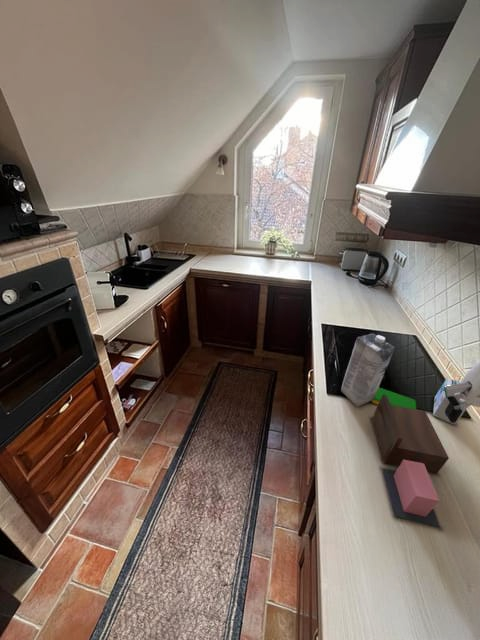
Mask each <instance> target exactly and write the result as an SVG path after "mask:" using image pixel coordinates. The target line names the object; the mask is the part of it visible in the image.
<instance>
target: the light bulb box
mask: <svg viewBox="0 0 480 640" xmlns="http://www.w3.org/2000/svg"><path fill="white" fill-rule="evenodd" d="M460 382H461V381H459V380H455V379H452V378H449V377H446V378H445V379H444V381H443V383H442V385H441V386H440V388H439V389H438V391H437V392H436V394H435V396H434V400H433V412H432V416H433V417H436V418H438V419H440V420H443V421H445V422H447V423H450V424H451V425H457V423H458V421H459V420H460V419H461V417H462V416H463V415H464V414H465V412H466V410H467V409H468V408H469V406H468V407H465V408H462V409H461V410H462V413H461V415H460V416H459V418H458V419H457V421H456V422H455V423H451V422H450V420H449V419H448V417H447V416H446V414H445V409H446V408H447V406H448V405H449V403H450V402H449V400H448V399H447V397H446V396H445V391H444V387H445V386H449V385H455V384H460ZM455 394H458V393H455ZM455 394H454V395H455ZM457 401H458V402H459V403H460V402H463V401H465V399H464V398H462V399H459V400H457Z"/></svg>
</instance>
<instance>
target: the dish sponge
mask: <svg viewBox="0 0 480 640" xmlns="http://www.w3.org/2000/svg"><path fill="white" fill-rule="evenodd" d="M383 394H384V395H387V397H388V400H389V403H390V405H394V406H400V407H405V408H411V409H417V401H416V399H413V398H412V397H411V398H410V397H408V396H405V395H402V394H399V393H397V392H393V391H391V390H387V389H385V388H382V387H380V386H379V387H378V390H377V392H376V394H375V396H374V398H373V399H372V400H371V401H370V402H371V403H372V404H375V405H378V404H379V402H380V400H381V397H382V395H383Z"/></svg>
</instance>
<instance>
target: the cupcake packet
mask: <svg viewBox="0 0 480 640" xmlns="http://www.w3.org/2000/svg"><path fill="white" fill-rule="evenodd" d="M395 471H396V472H395V474H394V479H395V483H396V486H397V489H398V493H399V496H400V500H401V503H402V507H403V510H404V512H408V513H412V514H416V515H420V516H424V517H426V516H427V515H428V514H429V512H430V511H431V510H432V509H433V510H434V508H435V507H436V506H437V505H438V503H439V502H440V499H439V496H438V494H437V492H436V489H435V487H434V484H433V482H432V479H431V477H430V474H429V472H427V470H426V467H425V465H424V464H423V463H418V462H414V461H409V460H404V459H403V461H402V463H401V464H400V466H398V467H397V469H396V470H395Z"/></svg>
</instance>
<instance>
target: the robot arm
mask: <svg viewBox="0 0 480 640" xmlns="http://www.w3.org/2000/svg"><path fill="white" fill-rule="evenodd" d="M459 382H460V384H455V385H449V386H445V387H444V391H445V396H446V397H447V399H448V400H449V402H450V403H449V405H448V406H447V408H446V409H445V414H446V416H447V417H448V419H449V420H450V422H451V423H450V422H449V423H450V424H452V423H455V422H456V421H457V419H458V418H459V416H460V415H461V413H462V410H461V409H462V408H465V407H468V408H469V407H470V406H472V407H476V408H480V359H479V360H478V361H477V362H476V363H475V364H474V365H473V366H472V367H471V368H470V369H469V370H468V371H467V373H466V374H465V375H464V377H463V378H462V379H461V381H459ZM455 393H458V394H455ZM454 394H455V395H454ZM462 398H464V399H465V401H463V402H460V403H459V402H458V401H457V400H459V399H462ZM457 422H458V421H457Z"/></svg>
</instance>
